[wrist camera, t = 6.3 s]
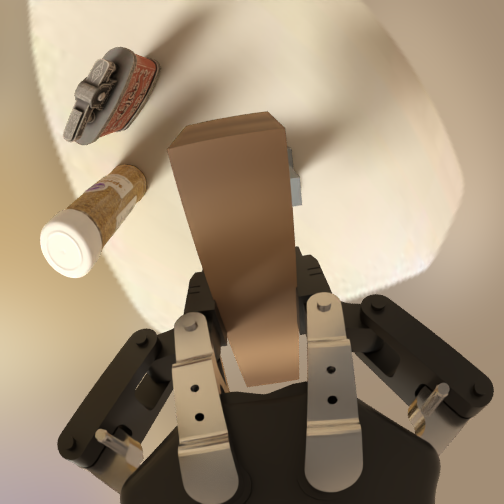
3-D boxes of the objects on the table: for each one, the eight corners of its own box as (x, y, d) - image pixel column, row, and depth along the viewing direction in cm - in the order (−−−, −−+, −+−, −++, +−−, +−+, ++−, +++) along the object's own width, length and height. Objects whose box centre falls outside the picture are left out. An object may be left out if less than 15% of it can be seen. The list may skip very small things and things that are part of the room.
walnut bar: (186, 125, 10) (166, 149, 7) (267, 111, 9) (285, 127, 7) (243, 340, 18) (247, 386, 15) (289, 333, 18) (298, 379, 15)
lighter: (140, 53, 19) (92, 36, 10) (168, 66, 20) (131, 50, 11) (102, 123, 22) (45, 142, 13) (127, 136, 23) (77, 160, 15)
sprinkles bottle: (136, 156, 24) (67, 209, 13) (154, 194, 27) (104, 270, 15) (102, 174, 25) (28, 235, 13) (120, 210, 27) (61, 287, 16)
